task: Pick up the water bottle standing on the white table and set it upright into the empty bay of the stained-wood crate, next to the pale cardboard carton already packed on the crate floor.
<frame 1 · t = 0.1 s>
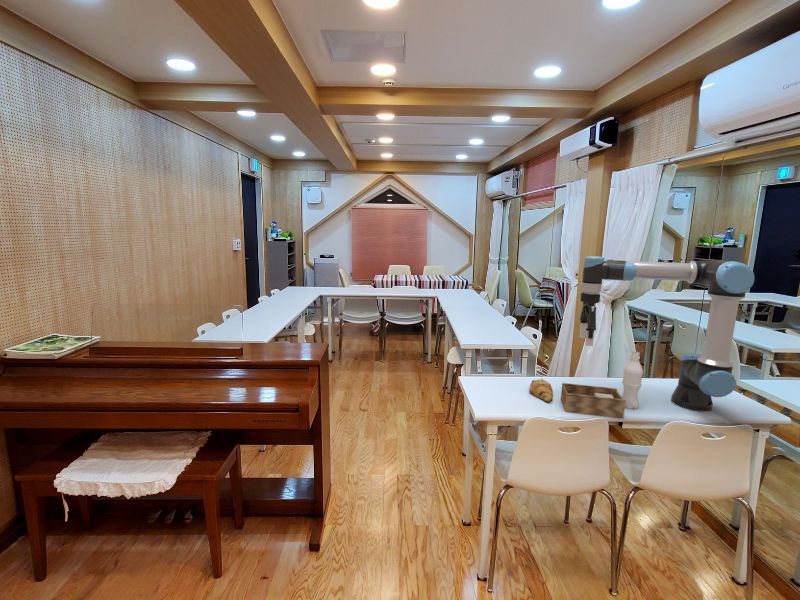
hand: (585, 341, 177), 28 cm above the table, fingers open, 13 cm apart
crate: (590, 410, 174), on the table
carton: (604, 410, 173), point 1 cm above the table, touching crate
croissant: (540, 394, 191), on the table
water bottle: (628, 408, 178), on the table
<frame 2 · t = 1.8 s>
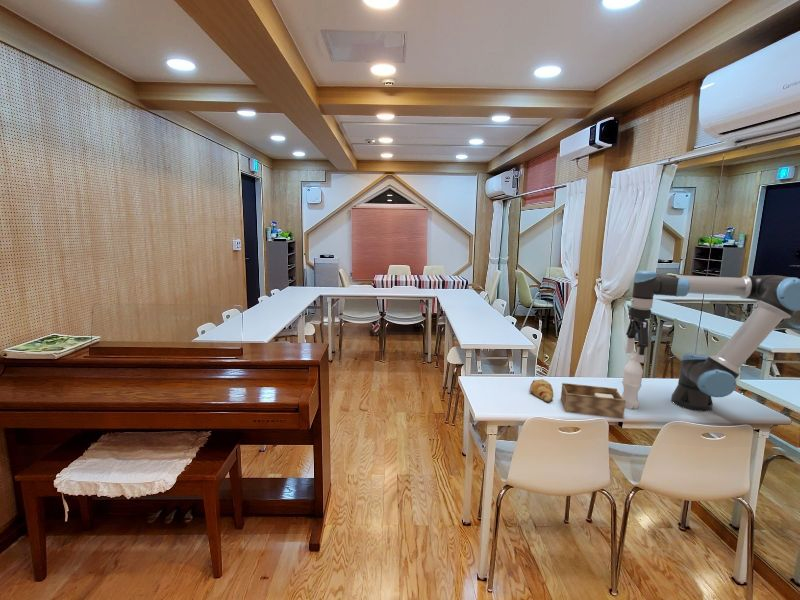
hand: (634, 357, 174), 23 cm above the table, fingers open, 13 cm apart
nothing on the table moved.
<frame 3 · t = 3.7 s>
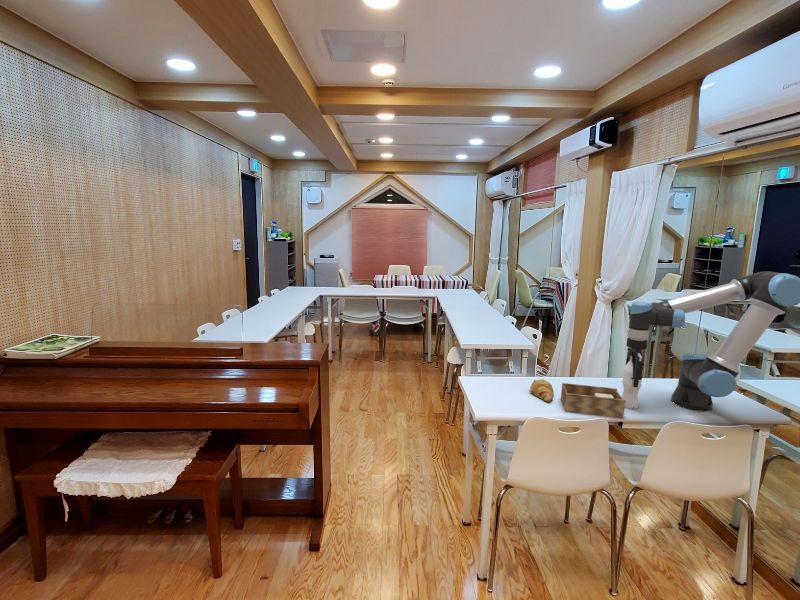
hand: (630, 390, 176), 8 cm above the table, fingers closed on water bottle, 7 cm apart
water bottle: (628, 408, 178), on the table, touching gripper
everything else where it was.
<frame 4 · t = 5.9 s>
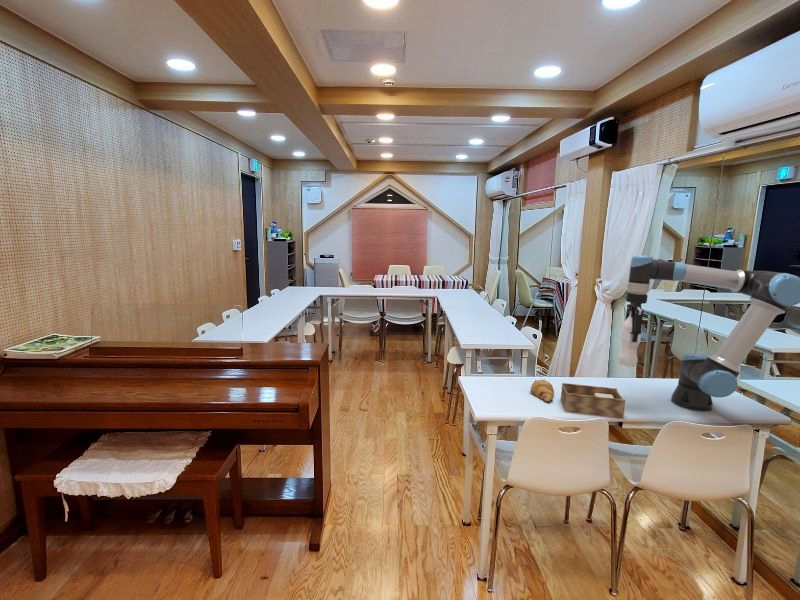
hand: (629, 346, 173), 27 cm above the table, fingers closed on water bottle, 7 cm apart
water bottle: (627, 365, 174), point 19 cm above the table, touching gripper
everything else where it was.
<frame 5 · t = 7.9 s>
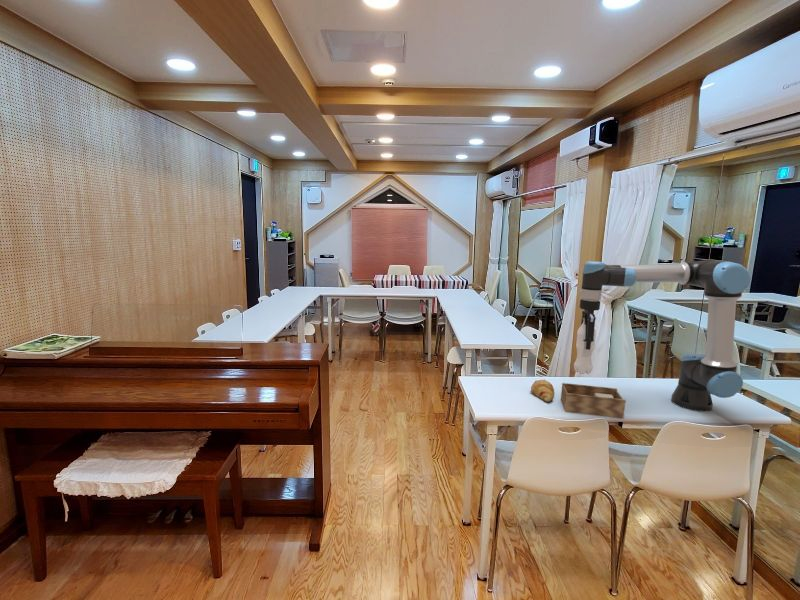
hand: (584, 353, 171), 24 cm above the table, fingers closed on water bottle, 7 cm apart
water bottle: (582, 372, 172), point 16 cm above the table, touching gripper
everything else where it was.
when the fingers open (10 cm above the table, at t = 10.6 s): water bottle drops 1 cm, resting on crate.
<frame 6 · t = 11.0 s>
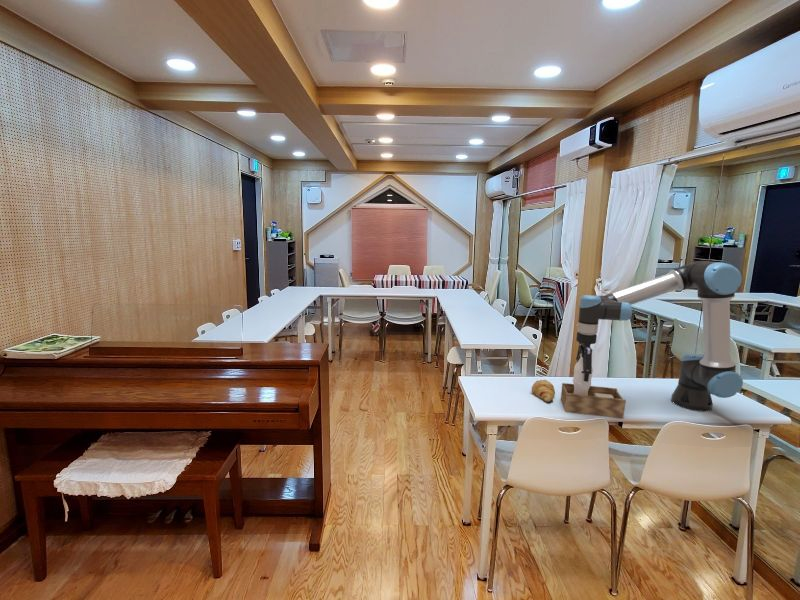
hand: (581, 383, 173), 12 cm above the table, fingers open, 12 cm apart
water bottle: (579, 407, 175), point 1 cm above the table, touching crate
everything else where it was.
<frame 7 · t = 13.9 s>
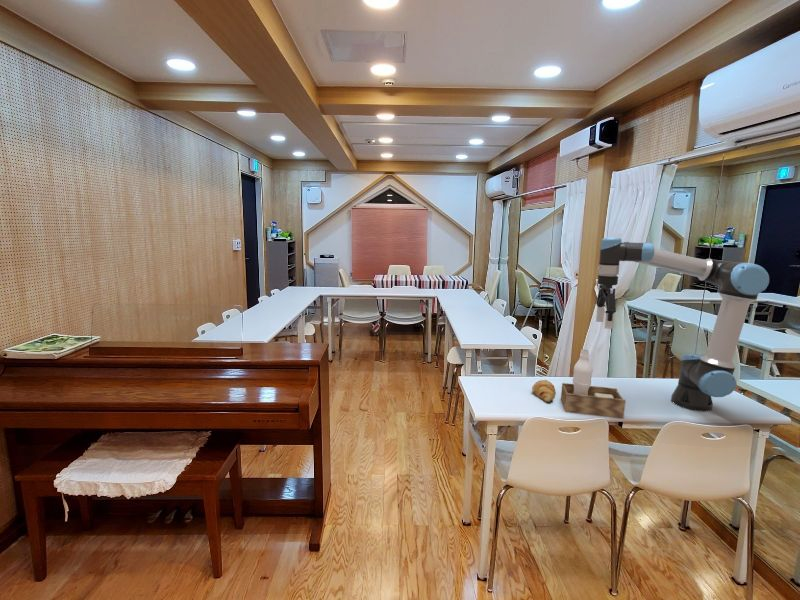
hand: (603, 325, 175), 36 cm above the table, fingers open, 13 cm apart
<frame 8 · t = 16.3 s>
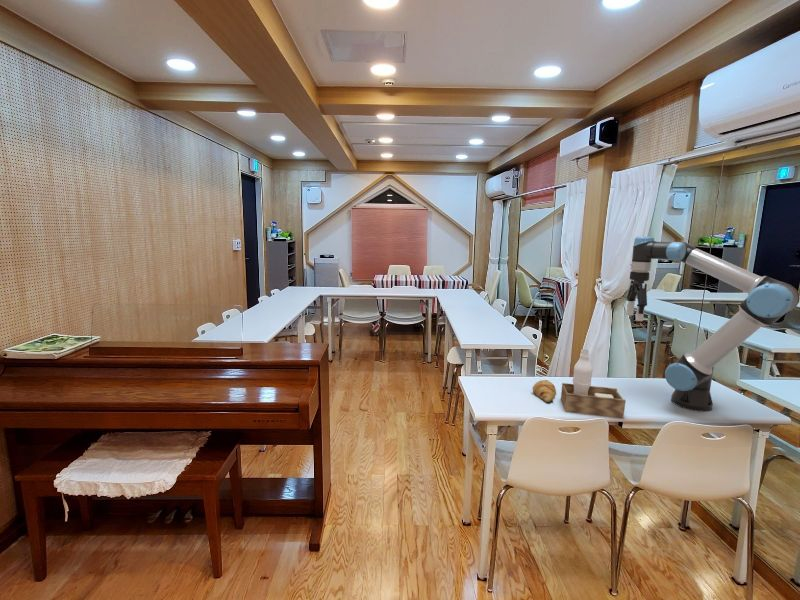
hand: (634, 317, 187), 37 cm above the table, fingers open, 13 cm apart
at the end: water bottle inside the target area on the crate (0.1 cm from its centre), point 0.8 cm above the crate's base; water bottle tilted 0°; the gripper is holding nothing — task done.
